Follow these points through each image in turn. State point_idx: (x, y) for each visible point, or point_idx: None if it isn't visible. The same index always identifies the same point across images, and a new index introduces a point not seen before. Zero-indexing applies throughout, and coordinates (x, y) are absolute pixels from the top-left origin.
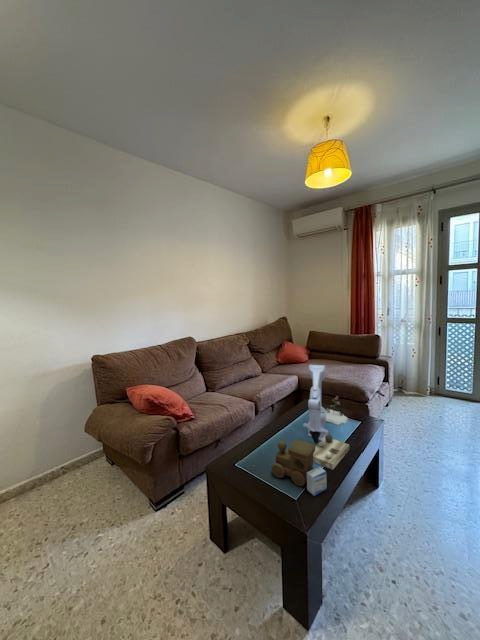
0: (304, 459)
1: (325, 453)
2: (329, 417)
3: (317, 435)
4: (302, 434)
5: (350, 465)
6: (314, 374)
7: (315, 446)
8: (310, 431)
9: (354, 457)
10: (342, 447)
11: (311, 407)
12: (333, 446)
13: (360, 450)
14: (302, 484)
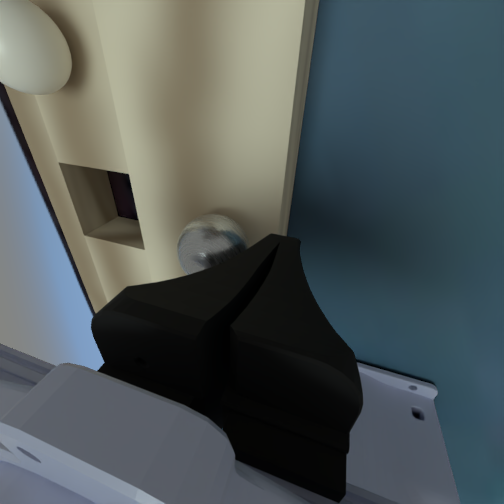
0: None
1: (26, 20)
2: None
3: (127, 289)
4: (496, 394)
5: (19, 141)
6: None
7: (275, 200)
8: (330, 399)
9: (66, 240)
10: (101, 281)
11: None
12: (147, 272)
13: (91, 308)
14: None
